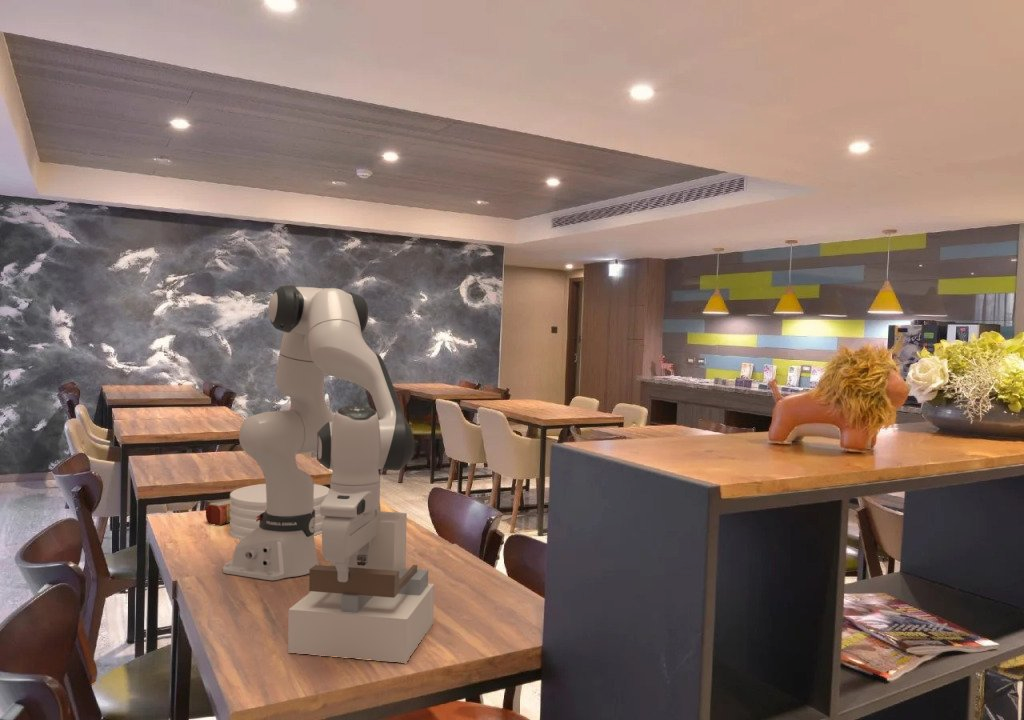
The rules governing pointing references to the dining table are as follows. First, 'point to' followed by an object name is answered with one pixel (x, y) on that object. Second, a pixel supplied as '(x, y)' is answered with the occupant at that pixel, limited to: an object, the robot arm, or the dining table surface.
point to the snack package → (218, 512)
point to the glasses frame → (359, 581)
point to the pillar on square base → (367, 608)
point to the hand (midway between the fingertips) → (353, 572)
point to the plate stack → (262, 509)
